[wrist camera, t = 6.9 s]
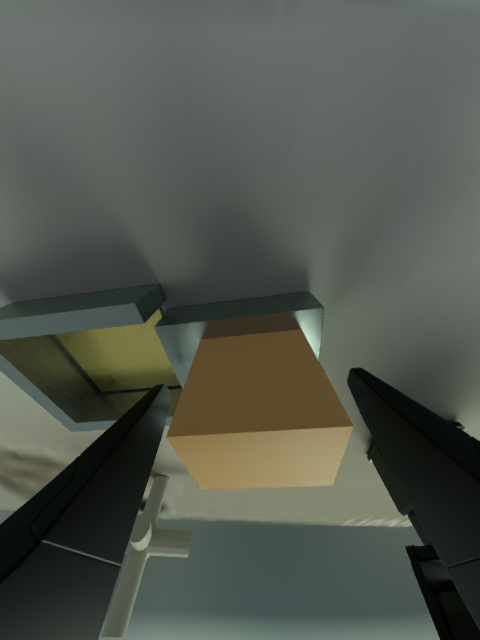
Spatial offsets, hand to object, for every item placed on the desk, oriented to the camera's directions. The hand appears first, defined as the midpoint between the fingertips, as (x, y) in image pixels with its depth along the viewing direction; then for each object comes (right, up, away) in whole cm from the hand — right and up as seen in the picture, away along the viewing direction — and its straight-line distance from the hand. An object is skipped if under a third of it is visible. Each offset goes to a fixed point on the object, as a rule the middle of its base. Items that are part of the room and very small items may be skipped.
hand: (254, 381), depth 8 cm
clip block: (0, +1, +1) cm, 1 cm away
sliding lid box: (-5, +1, +3) cm, 6 cm away
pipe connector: (-11, -18, +15) cm, 25 cm away
